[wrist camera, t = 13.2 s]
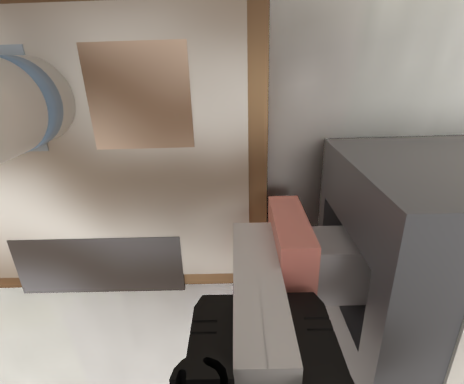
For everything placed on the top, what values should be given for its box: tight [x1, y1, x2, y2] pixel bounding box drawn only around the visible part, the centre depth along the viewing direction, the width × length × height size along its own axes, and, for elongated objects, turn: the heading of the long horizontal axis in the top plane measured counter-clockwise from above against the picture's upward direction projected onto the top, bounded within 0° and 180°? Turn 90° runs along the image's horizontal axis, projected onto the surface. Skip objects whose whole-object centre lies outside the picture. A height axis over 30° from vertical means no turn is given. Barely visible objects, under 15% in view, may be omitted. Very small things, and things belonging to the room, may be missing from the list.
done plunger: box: [268, 195, 372, 306], centre depth 12 cm, size 4×7×4 cm, turn 92°
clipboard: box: [0, 0, 270, 293], centre depth 14 cm, size 13×16×1 cm
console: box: [318, 135, 464, 384], centre depth 12 cm, size 8×7×7 cm
